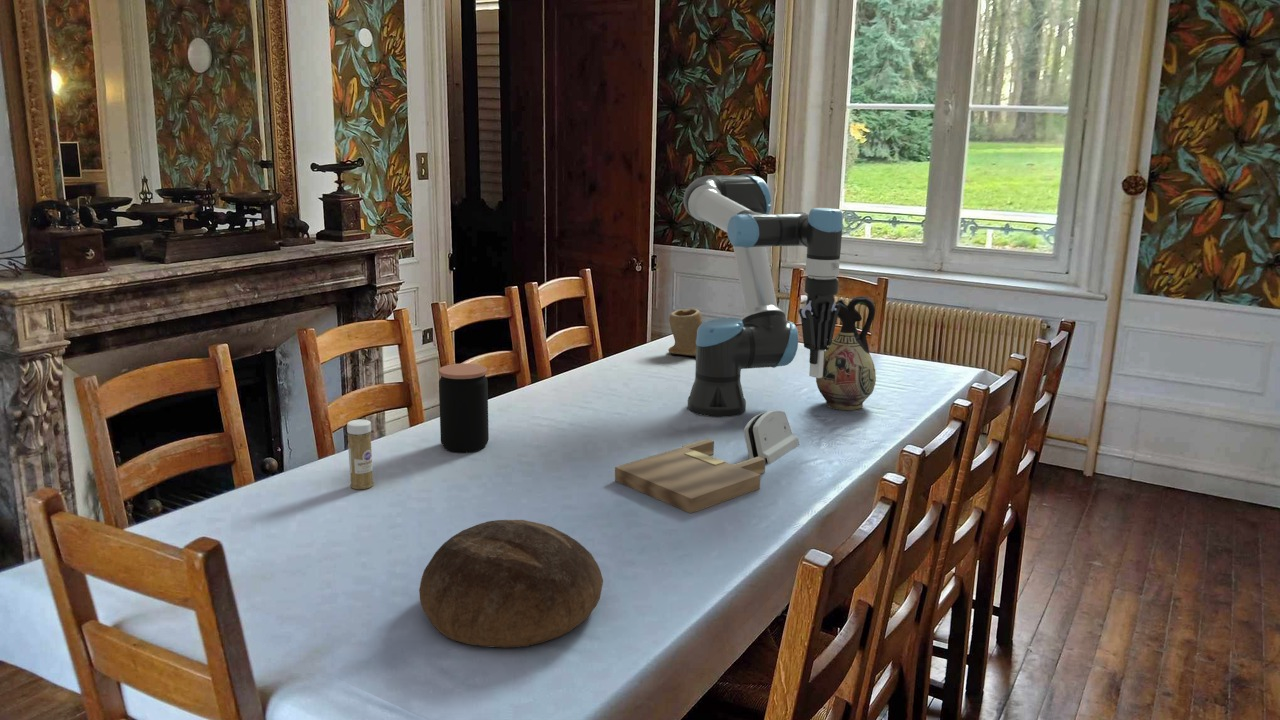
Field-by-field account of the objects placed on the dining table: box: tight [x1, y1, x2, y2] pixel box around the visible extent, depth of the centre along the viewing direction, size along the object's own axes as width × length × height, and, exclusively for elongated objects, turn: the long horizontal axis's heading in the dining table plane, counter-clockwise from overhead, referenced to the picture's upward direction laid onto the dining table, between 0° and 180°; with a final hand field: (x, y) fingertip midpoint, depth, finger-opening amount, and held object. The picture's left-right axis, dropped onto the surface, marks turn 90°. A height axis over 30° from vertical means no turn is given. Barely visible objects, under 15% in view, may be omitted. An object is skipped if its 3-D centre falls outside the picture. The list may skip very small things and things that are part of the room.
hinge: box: [743, 410, 800, 465], centre depth 216 cm, size 17×5×10 cm, turn 147°
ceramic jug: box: [815, 296, 877, 411], centre depth 249 cm, size 17×15×30 cm
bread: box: [418, 519, 604, 648], centre depth 143 cm, size 26×27×13 cm
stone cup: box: [668, 308, 703, 357], centre depth 303 cm, size 15×12×15 cm
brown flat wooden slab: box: [614, 438, 767, 514], centre depth 198 cm, size 22×28×3 cm
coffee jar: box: [438, 362, 490, 454], centre depth 214 cm, size 11×11×18 cm
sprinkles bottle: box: [346, 419, 375, 490], centre depth 189 cm, size 5×5×14 cm
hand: (815, 376), depth 223 cm, fingers closed
